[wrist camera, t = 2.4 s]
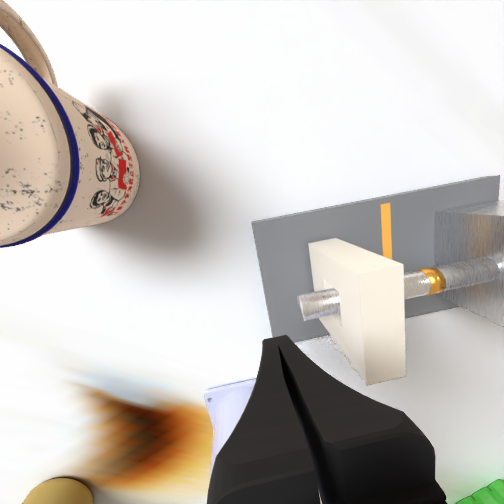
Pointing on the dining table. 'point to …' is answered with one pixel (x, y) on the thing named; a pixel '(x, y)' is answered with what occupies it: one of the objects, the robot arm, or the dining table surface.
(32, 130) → the teacup with lid
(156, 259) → the dining table surface
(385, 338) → the collar
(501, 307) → the pipe stand
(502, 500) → the fruit basket
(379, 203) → the base plate
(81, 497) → the paper tube
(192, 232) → the dining table surface
